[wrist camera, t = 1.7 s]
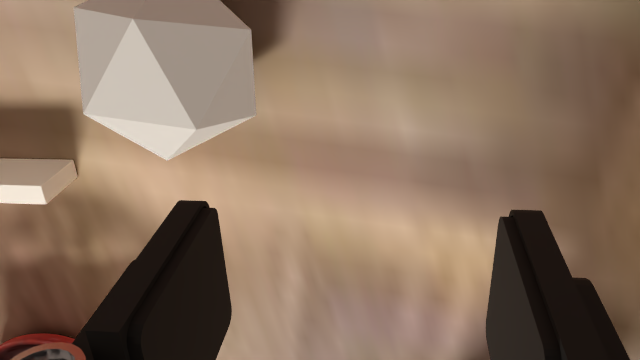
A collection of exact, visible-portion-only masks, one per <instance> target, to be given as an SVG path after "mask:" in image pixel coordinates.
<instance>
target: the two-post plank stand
mask: <svg viewBox="0 0 640 360" xmlns="http://www.w3.org/2000/svg"><path fill="white" fill-rule="evenodd" d="M77 177H78V176H77V172H76V168H75V164H74V161H73V160H61V159H9V158H0V203H17V204H48V203H49V202H50V201H51V200H52V199H53V198H54V197H56V196H57V195H58V194H59V193H60V192H61V191H62V190H64V189H65V188H66V187H67V186H68V185H69V184H70V183H72V182H73V181H74V180H75V179H76V178H77Z"/></svg>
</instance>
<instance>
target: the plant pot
mask: <svg viewBox="0 0 640 360" xmlns="http://www.w3.org/2000/svg"><path fill="white" fill-rule="evenodd" d="M74 340H75V339H74V338H70V337H66V336H62V335H57V334H48V333H37V334H27V335H22V336H19V337H15V338H12V339H10V340H8V341H6V342H4V343H3V344H1V345H0V360H10V359H12V358H13V357H15V356H16V355H18V354H19V353H22V352H24V351H26V350H28V349H30V348H32V347H35V346H39V345H43V344H46V343H56V342H64V343H69V344H72V343H73V341H74Z"/></svg>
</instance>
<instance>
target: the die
mask: <svg viewBox="0 0 640 360" xmlns="http://www.w3.org/2000/svg"><path fill="white" fill-rule="evenodd" d="M74 17H75V28H76V39H77V50H78V61H79V72H80V83H81V94H82V105H83V114H84V115H86V116H88V117H90V118H91V119H93V120H95V121H97V122H99V123H100V124H102V125H104V126H106V127H108V128H109V129H111V130H113V131H115V132H117V133H118V134H120V135H122V136H124V137H126V138H127V139H129V140H131V141H133V142H135V143H136V144H138V145H140V146H142V147H144V148H145V149H147V150H149V151H151V152H153V153H154V154H156V155H158V156H160V157H162V158H163V159H165V160H167V161H168V160H169V159H171V158H173V157H175V156H177V155H179V154H181V153H183V152H185V151H187V150H189V149H191V148H193V147H195V146H197V145H199V144H201V143H203V142H205V141H207V140H209V139H211V138H213V137H215V136H217V135H219V134H221V133H223V132H225V131H227V130H229V129H230V128H232V127H234V126H236V125H238V124H240V123H242V122H244V121H246V120H248V119H250V118H252V117H254V116H256V101H255V84H254V67H253V50H252V34H251V29H250V28H249V27H248V26H247V25H246V24H245V23H243V22H242V21H241V20H240V19H239V18H238V17H237V16H236V15H235V14H234V13H233V12H232V11H231V10H230V9H229V8H227V7H226V6H225V5H224V4H223V3H222V2H221V1H220V0H88V1H86V2H84V3H82V4H80V5H78V6H76V7H74Z"/></svg>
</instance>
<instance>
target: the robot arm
mask: <svg viewBox="0 0 640 360" xmlns="http://www.w3.org/2000/svg"><path fill="white" fill-rule="evenodd" d="M231 312H232V309H231V301H230V294H229V287H228V280H227V274H226V267H225V260H224V253H223V246H222V239H221V232H220V226H219V219H218V213H217V210H216V209H215V208H209V205H208V203H207V202H206V201H183V200H181V201H178V202H177V204H176V205H175V206H174V208H173V209H172V210H171V212H170V213H169V215H168V216H167V217H166V219H165V220H164V222H163V223H162V224H161V226H160V227H159V228H158V230H157V231H156V233H155V234H154V235H153V237H152V238H151V239H150V241H149V242H148V244H147V245H146V246H145V248H144V249H143V251H142V252H141V253H140V255H139V256H138V257H137V259H136V260H134V261H133V262H132V263H131V264H130V265H129V266H128V267H127V269H126V270H125V272H124V273H123V274H122V276H121V277H120V278H119V280H118V281H117V282H116V284H115V285H114V287H113V288H112V289H111V291H110V292H109V293H108V295H107V296H106V298H105V299H104V300H103V302H102V303H101V304H100V306H99V307H98V308H97V310H96V311H95V313H94V314H93V315H92V317H91V318H90V319H89V321H88V322H87V324H86V325H85V326H84V328H83V329H82V330H81V332H80V333H79V334H78V336H77V337H76V339H75V340H74V341H73V343H72V344H69V343H64V342H56V343H46V344H43V345H39V346H35V347H32V348H30V349H28V350H26V351H24V352H22V353H19V354H18V355H16V356H15V357H13V358H12V359H10V360H216V358H217V355H218V353H219V350H220V347H221V345H222V342H223V340H224V337H225V335H226V332H227V330H228V327H229V325H230V321H231ZM486 338H487V344H488V349H489V354H490V359H491V360H630V359H629V357H628V355H627V353H626V351H625V349H624V347H623V345H622V343H621V341H620V338H619V336H618V334H617V332H616V330H615V328H614V326H613V324H612V322H611V320H610V318H609V316H608V314H607V312H606V310H605V308H604V306H603V304H602V302H601V300H600V298H599V296H598V294H597V292H596V290H595V288H594V286H593V284H592V283H591V282H590V280H588V279H586V278H572V276H571V274H570V272H569V269H568V267H567V265H566V263H565V260H564V258H563V256H562V254H561V252H560V249H559V247H558V245H557V243H556V240H555V238H554V236H553V234H552V232H551V229H550V227H549V225H548V223H547V221H546V218H545V216H544V214H543V212H542V211H535V210H511V211H510V214H509V217H500V219H499V223H498V231H497V239H496V247H495V255H494V263H493V271H492V279H491V287H490V295H489V303H488V311H487V319H486Z"/></svg>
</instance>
